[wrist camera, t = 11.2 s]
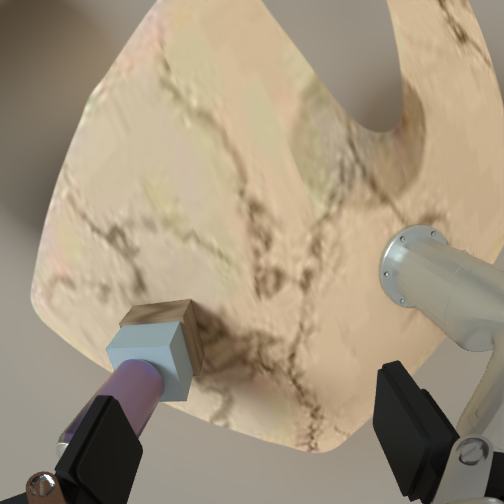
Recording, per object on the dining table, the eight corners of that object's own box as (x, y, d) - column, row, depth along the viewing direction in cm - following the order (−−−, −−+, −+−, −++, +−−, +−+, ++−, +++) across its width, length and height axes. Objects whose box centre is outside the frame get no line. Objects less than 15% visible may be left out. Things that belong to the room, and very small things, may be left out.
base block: (190, 298, 43) (182, 317, 37) (204, 352, 45) (199, 375, 40) (133, 305, 43) (119, 323, 38) (150, 356, 46) (139, 378, 40)
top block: (179, 321, 37) (169, 345, 32) (193, 372, 39) (186, 401, 34) (123, 325, 38) (105, 348, 32) (139, 374, 40) (127, 401, 34)
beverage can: (148, 350, 31) (79, 440, 17) (176, 391, 32) (127, 489, 18) (111, 363, 32) (41, 442, 18) (138, 401, 33) (84, 487, 19)
